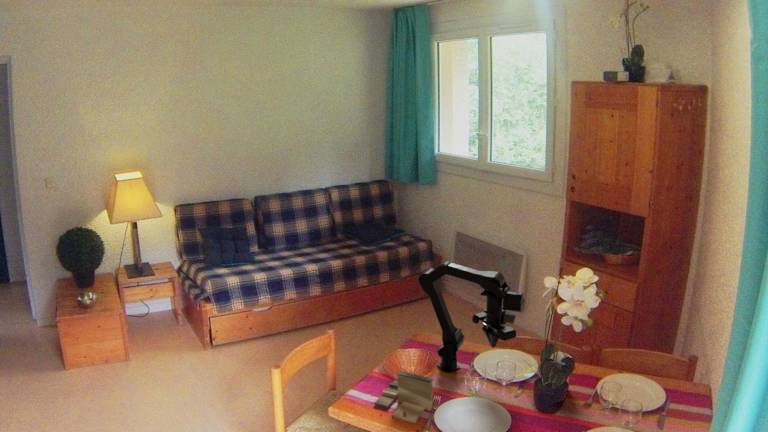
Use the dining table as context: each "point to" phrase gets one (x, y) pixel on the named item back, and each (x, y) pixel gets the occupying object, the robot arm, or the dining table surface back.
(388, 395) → the board
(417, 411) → the beige stand
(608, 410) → the dining table surface
